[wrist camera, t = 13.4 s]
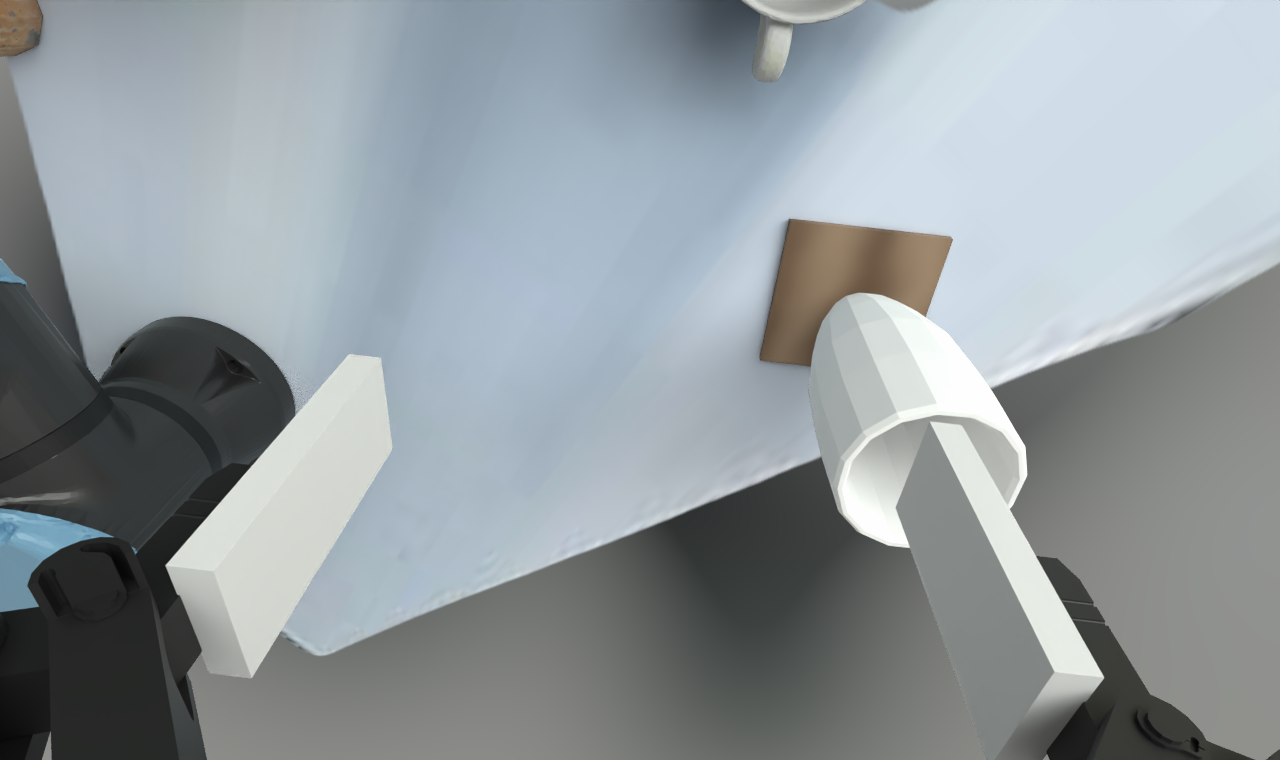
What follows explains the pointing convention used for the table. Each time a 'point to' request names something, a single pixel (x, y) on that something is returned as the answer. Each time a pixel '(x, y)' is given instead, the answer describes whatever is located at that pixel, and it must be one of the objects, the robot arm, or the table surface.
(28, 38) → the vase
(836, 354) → the cup
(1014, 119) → the table surface
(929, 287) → the coaster
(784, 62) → the teacup
